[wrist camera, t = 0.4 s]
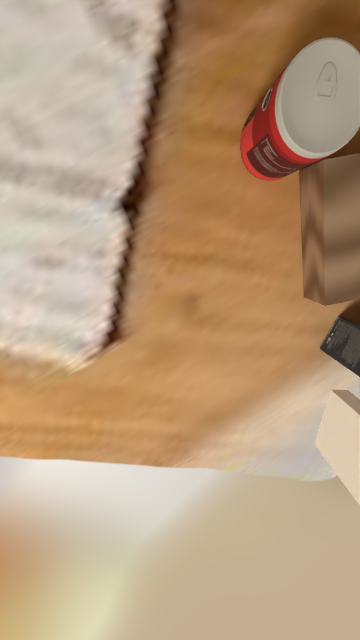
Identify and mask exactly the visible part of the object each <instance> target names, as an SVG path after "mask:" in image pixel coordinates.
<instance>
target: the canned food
mask: <svg viewBox="0 0 360 640" xmlns="http://www.w3.org/2000/svg"><path fill="white" fill-rule="evenodd" d="M359 128H360V52H359V51H358V50H357V49H356V48H355V47H354V46H353V45H352V44H350V43H349V42H347V41H345V40H343V39H339V38H335V37H330V38H322V39H319V40H316V41H314V42H312V43H310V44H309V45H307V46H306V47H305V48H303V49H302V50H301V51H300V52H299V53H298V54H297V55H296V56H295V57H294V58H293V59H292V61H291V62H290V63H289V64H288V66H287V67H286V68H285V69H284V71H283V72H282V73H281V74H280V76H279V77H278V78H277V80H276V81H275V82H274V84H273V85H272V86H271V88H270V89H269V90H268V92H267V93H266V94H265V96H264V97H263V98H262V100H261V101H260V102H259V104H258V105H257V107H256V108H255V109H254V111H253V112H252V113H251V115H250V116H249V117H248V119H247V121H246V123H245V125H244V128H243V130H242V135H241V144H240V150H241V156H242V160H243V163H244V164H245V166H246V168H247V169H248V170H249V172H250V173H251V174H253V175H254V176H255V177H258V178H260V179H262V180H267V181H270V180H277V179H280V178H282V177H285V176H287V175H289V174H291V173H293V172H295V171H297V170H300V169H302V168H304V167H306V166H308V165H310V164H313V163H315V162H317V161H319V160H321V159H323V158H325V157H327V156H329V155H331V154H333V153H334V152H336V151H338V150H339V149H341V148H342V147H343V146H344V145H346V144H347V143H348V142H349V141H350V140H351V139H352V137H353V136H354V135H355V134H356V132H357V131H358V129H359Z"/></svg>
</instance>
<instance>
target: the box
mask: <svg viewBox="0 0 360 640" xmlns="http://www.w3.org/2000/svg"><path fill="white" fill-rule="evenodd" d="M320 349H321V350H322V351H324V352H325V353H326V354H328V355H329V356H331V357H332V358H334V359H335V360H337V361H338V362H339V363H341V364H342V365H344V366H345V367H346V368H348V369H349V370H351V371H352V372H354V373H355V374H356V375H358V376H359V377H360V325H359V324H357V323H355V322H352V321H350V320H347V319H345V318H342V317H338V318H337V320H336V322H335V323H334V325H333V326H332V328H331V330H330V332H329V333H328V335H327V336H326V338H325V340H324V342H323V343H322V345H321V346H320Z"/></svg>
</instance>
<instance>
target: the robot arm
mask: <svg viewBox="0 0 360 640" xmlns="http://www.w3.org/2000/svg"><path fill="white" fill-rule="evenodd" d="M314 445H315V446H316V447H317V449H318V450H319V451H320V453H321V454H322V455H323V457H324V458H325V459H326V461H327V462H328V463H329V465H330V466H331V467H332V469H333V470H334V471H335V473H336V474H337V475H338V477H339V478H340V479H341V481H342V482H343V483H344V485H345V486H346V487H347V489H348V490H349V491H350V492H351V494H352V495H353V497H354V498H355V499H356V501H357V502H358V503H359V505H360V400H359V399H358V398H357V397H356V396H354V395H353V394H352V393H351V392H349V391H348V390H331V391H330V394H329V397H328V401H327V404H326V407H325V411H324V414H323V417H322V421H321V424H320V427H319V431H318V434H317V437H316V441H315V444H314Z"/></svg>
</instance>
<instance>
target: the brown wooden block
mask: <svg viewBox="0 0 360 640" xmlns="http://www.w3.org/2000/svg"><path fill="white" fill-rule="evenodd" d="M299 176H300V204H301V231H302V259H303V286H304V297H305V298H308V299H310V300H313V301H315V302H318V303H320V304H322V305H325V306H326V305H331V304H336V303H341V302H346V301H351V300H356V299H360V153H357V154H352V155H346V156H341V157H335V158H330V159H325V160H322V161H320V162H317V163H315V164H313V165H311V166H309V167H307V168H305V169H302V170H300V171H299Z"/></svg>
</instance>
